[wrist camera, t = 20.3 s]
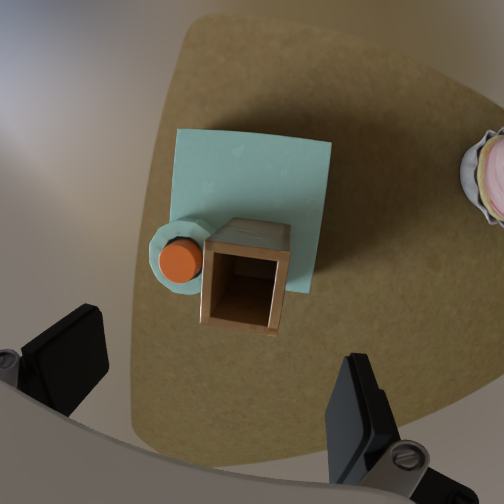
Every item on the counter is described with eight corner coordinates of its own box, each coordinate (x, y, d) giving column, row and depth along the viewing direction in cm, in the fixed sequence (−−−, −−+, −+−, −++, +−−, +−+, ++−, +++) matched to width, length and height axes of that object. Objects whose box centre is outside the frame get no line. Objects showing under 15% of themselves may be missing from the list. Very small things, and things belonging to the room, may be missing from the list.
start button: (202, 278, 23) (195, 286, 22) (166, 272, 24) (158, 280, 22) (204, 241, 22) (197, 247, 21) (167, 236, 23) (158, 241, 21)
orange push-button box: (305, 285, 28) (307, 313, 22) (175, 265, 29) (149, 287, 24) (325, 147, 25) (335, 140, 19) (184, 133, 26) (157, 125, 20)
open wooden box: (282, 285, 24) (277, 337, 16) (227, 277, 25) (199, 324, 17) (291, 224, 23) (291, 252, 15) (233, 216, 23) (204, 240, 15)
